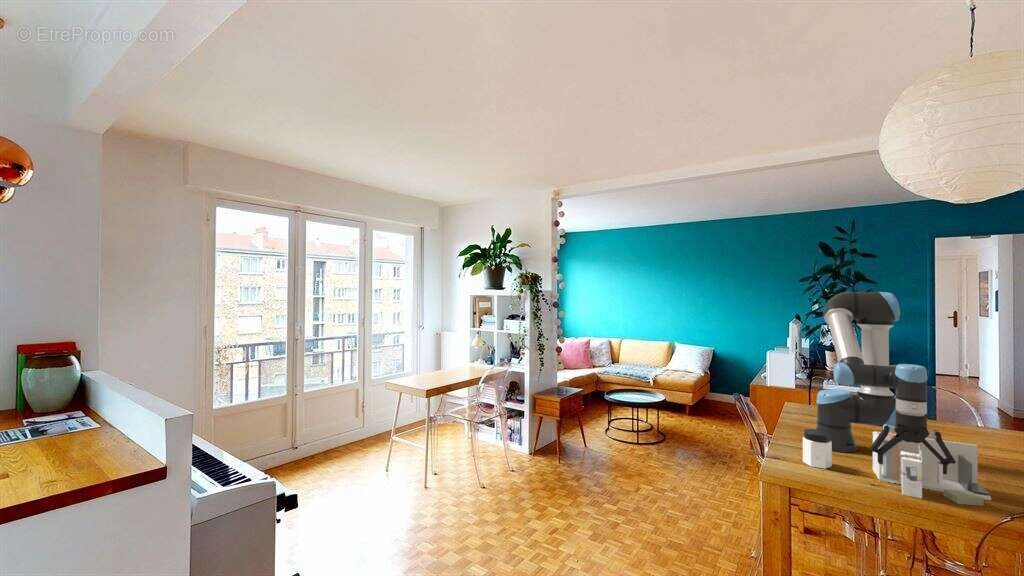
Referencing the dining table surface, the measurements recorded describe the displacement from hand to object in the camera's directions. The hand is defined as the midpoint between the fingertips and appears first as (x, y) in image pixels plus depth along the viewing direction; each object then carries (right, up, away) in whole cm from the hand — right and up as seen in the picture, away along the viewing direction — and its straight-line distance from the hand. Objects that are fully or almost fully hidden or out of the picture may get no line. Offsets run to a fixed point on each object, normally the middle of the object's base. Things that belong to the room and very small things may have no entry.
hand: (911, 479), depth 141 cm
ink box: (0, -5, 0) cm, 5 cm away
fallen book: (+11, -5, -5) cm, 13 cm away
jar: (-15, -5, +23) cm, 27 cm away
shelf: (+11, -4, +6) cm, 14 cm away
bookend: (+20, -3, 0) cm, 21 cm away
